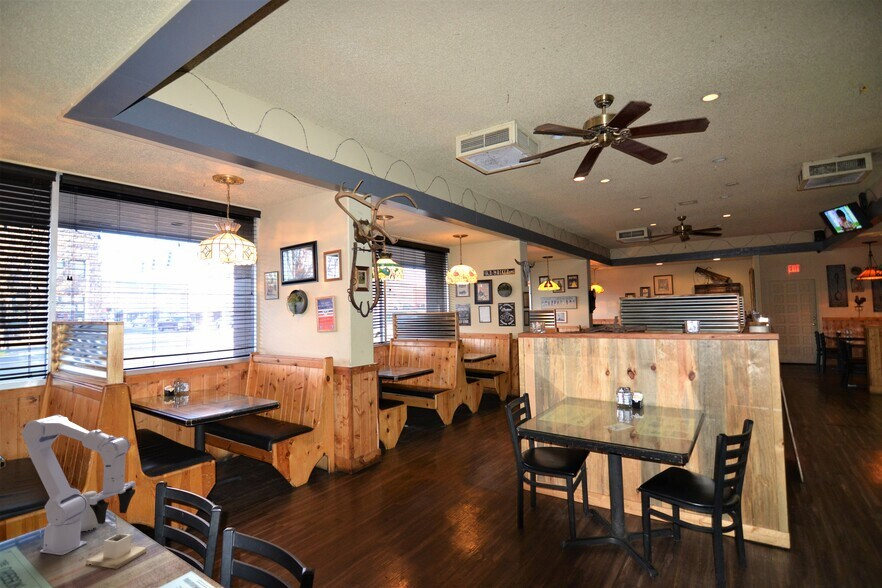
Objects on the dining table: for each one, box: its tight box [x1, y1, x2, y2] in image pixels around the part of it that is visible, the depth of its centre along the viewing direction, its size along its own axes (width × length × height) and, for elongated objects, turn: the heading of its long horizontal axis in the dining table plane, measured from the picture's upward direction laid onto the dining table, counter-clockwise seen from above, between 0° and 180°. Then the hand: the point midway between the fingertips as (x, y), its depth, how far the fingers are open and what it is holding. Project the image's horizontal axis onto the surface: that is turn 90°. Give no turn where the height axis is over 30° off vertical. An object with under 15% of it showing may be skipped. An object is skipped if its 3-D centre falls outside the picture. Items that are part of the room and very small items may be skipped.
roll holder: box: [85, 536, 148, 570], centre depth 138 cm, size 12×10×6 cm
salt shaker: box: [81, 490, 98, 532], centre depth 157 cm, size 6×6×13 cm
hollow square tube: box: [102, 532, 132, 559], centre depth 138 cm, size 5×5×5 cm
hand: (112, 517), depth 144 cm, fingers open, 7 cm apart
